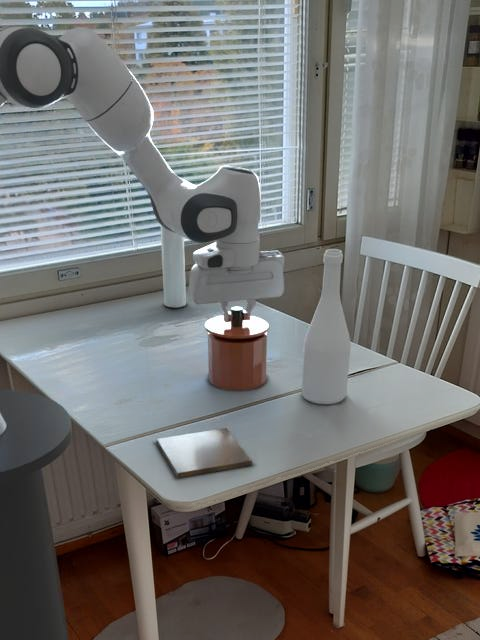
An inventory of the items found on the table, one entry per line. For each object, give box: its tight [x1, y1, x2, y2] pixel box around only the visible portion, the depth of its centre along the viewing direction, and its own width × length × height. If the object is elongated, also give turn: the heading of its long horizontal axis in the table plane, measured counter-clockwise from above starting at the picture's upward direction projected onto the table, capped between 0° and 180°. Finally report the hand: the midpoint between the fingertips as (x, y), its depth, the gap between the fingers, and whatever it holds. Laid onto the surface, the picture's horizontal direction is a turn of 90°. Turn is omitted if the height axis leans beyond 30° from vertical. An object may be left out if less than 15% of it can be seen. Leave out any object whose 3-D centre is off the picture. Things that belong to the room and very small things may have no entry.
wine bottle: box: [300, 248, 352, 405], centre depth 158 cm, size 10×10×30 cm
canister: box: [207, 331, 268, 391], centre depth 171 cm, size 13×13×10 cm
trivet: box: [155, 427, 253, 479], centre depth 144 cm, size 14×14×1 cm
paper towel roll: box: [160, 225, 187, 308], centre depth 211 cm, size 7×6×21 cm
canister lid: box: [204, 306, 270, 338], centre depth 166 cm, size 14×14×5 cm
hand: (236, 320), depth 166 cm, fingers closed on canister lid, 2 cm apart
